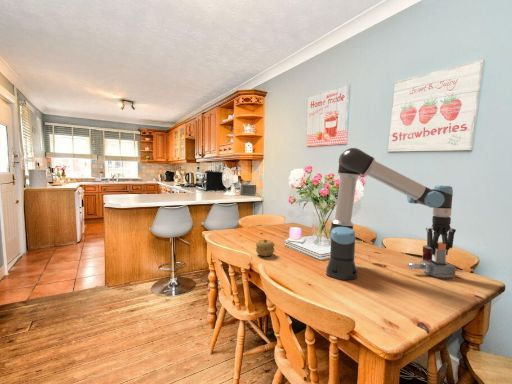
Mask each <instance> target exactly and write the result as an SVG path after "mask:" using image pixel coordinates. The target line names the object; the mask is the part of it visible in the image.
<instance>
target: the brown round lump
mask: <svg viewBox="0 0 512 384" xmlns="http://www.w3.org/2000/svg"><path fill="white" fill-rule="evenodd" d="M255 246H256V247H255V251H256V253H257V255H259V256H261V257H270V256H271V255H273V254H274V252H275V248H274V247H275V243H274V242H273V241H272V240H270V239H266V238H265V239H264V238H263V239H260V240H258V241H257V242H256V243H255Z"/></svg>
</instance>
